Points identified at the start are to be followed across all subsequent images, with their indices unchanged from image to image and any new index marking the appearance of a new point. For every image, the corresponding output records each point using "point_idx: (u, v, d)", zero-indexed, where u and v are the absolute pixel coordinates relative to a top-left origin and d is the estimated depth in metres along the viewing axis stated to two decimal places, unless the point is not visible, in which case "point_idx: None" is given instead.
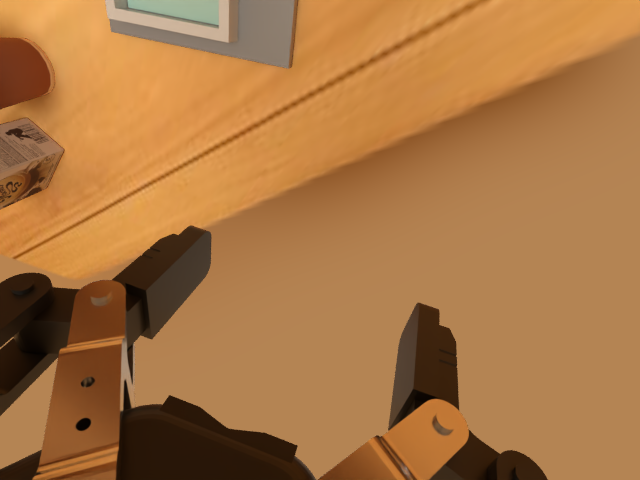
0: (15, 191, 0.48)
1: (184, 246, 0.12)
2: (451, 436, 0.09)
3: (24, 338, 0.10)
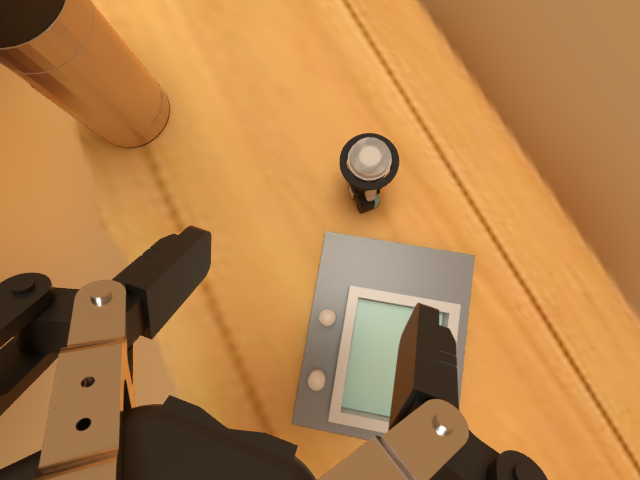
0: None
1: (184, 246, 0.12)
2: (451, 436, 0.09)
3: (24, 338, 0.10)
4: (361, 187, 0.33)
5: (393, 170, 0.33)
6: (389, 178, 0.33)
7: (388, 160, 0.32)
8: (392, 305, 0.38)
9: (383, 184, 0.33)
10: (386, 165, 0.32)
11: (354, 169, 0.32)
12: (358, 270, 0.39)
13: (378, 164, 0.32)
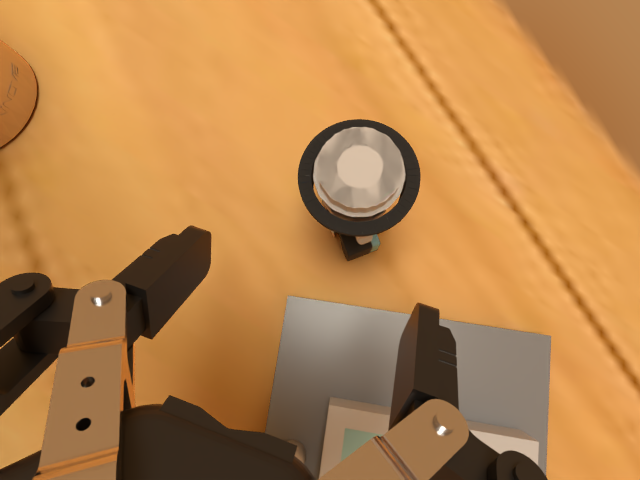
0: None
1: (184, 246, 0.12)
2: (451, 436, 0.09)
3: (24, 338, 0.10)
4: (343, 231, 0.16)
5: (409, 194, 0.16)
6: (401, 211, 0.16)
7: (399, 175, 0.15)
8: None
9: (389, 224, 0.16)
10: (395, 185, 0.15)
11: (327, 195, 0.15)
12: (345, 366, 0.22)
13: (378, 184, 0.15)
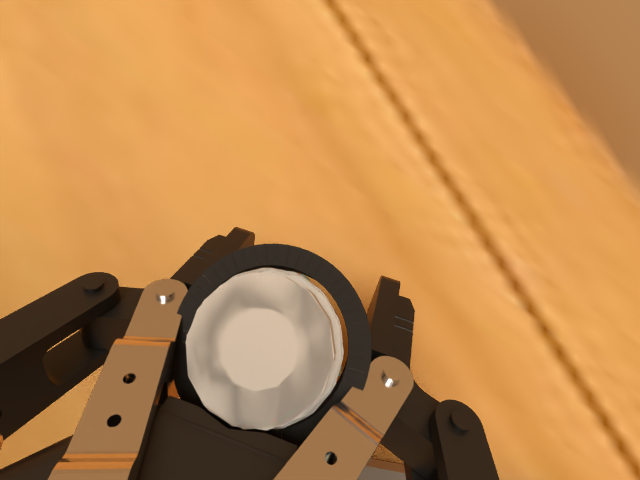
0: None
1: (233, 247, 0.13)
2: (396, 386, 0.09)
3: (86, 334, 0.10)
4: None
5: (351, 383, 0.09)
6: None
7: (325, 367, 0.08)
8: None
9: None
10: (317, 389, 0.08)
11: None
12: None
13: (288, 383, 0.08)
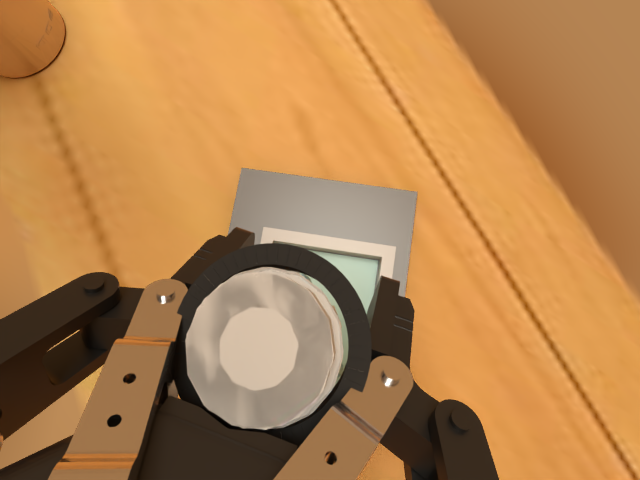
0: None
1: (234, 247, 0.13)
2: (396, 386, 0.09)
3: (87, 334, 0.10)
4: None
5: (351, 383, 0.09)
6: None
7: (325, 366, 0.08)
8: (318, 252, 0.32)
9: None
10: (317, 388, 0.08)
11: None
12: (279, 212, 0.33)
13: (287, 383, 0.08)
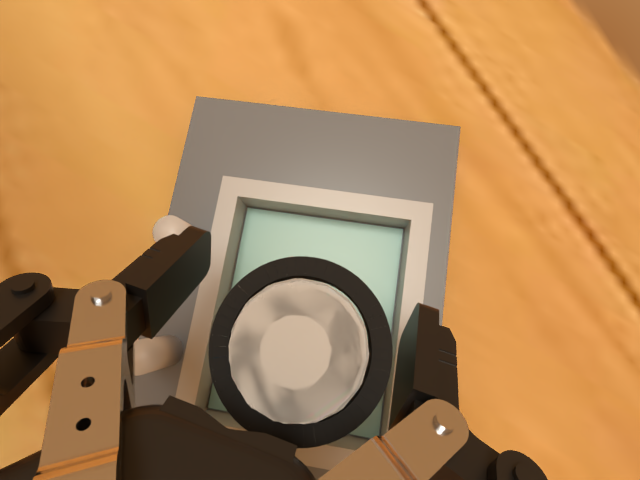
0: None
1: (184, 246, 0.12)
2: (451, 436, 0.09)
3: (24, 338, 0.10)
4: None
5: (375, 381, 0.10)
6: (363, 410, 0.10)
7: (356, 367, 0.09)
8: (310, 218, 0.21)
9: (344, 431, 0.10)
10: (349, 386, 0.09)
11: None
12: (251, 159, 0.22)
13: (322, 382, 0.09)
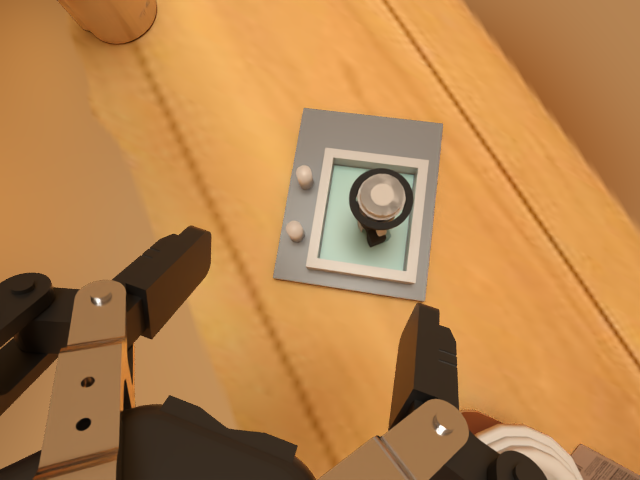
0: None
1: (184, 246, 0.12)
2: (451, 436, 0.09)
3: (24, 338, 0.10)
4: (373, 227, 0.30)
5: (407, 208, 0.30)
6: (403, 217, 0.30)
7: (402, 198, 0.30)
8: (366, 169, 0.41)
9: (397, 224, 0.30)
10: (400, 204, 0.29)
11: (365, 209, 0.30)
12: (334, 140, 0.42)
13: (391, 203, 0.30)
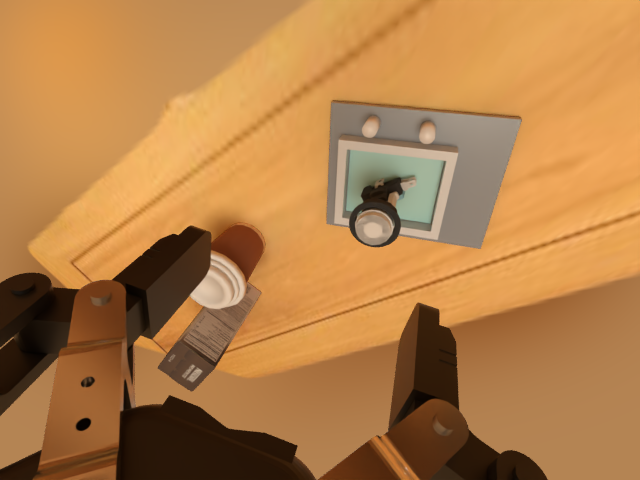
0: None
1: (184, 246, 0.12)
2: (451, 436, 0.09)
3: (24, 338, 0.10)
4: (349, 219, 0.38)
5: (366, 242, 0.39)
6: (359, 239, 0.39)
7: (369, 243, 0.38)
8: (438, 185, 0.43)
9: (354, 235, 0.39)
10: (365, 241, 0.38)
11: (361, 217, 0.37)
12: (473, 154, 0.41)
13: (365, 236, 0.38)
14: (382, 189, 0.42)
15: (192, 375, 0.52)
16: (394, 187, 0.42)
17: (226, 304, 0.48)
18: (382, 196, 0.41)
